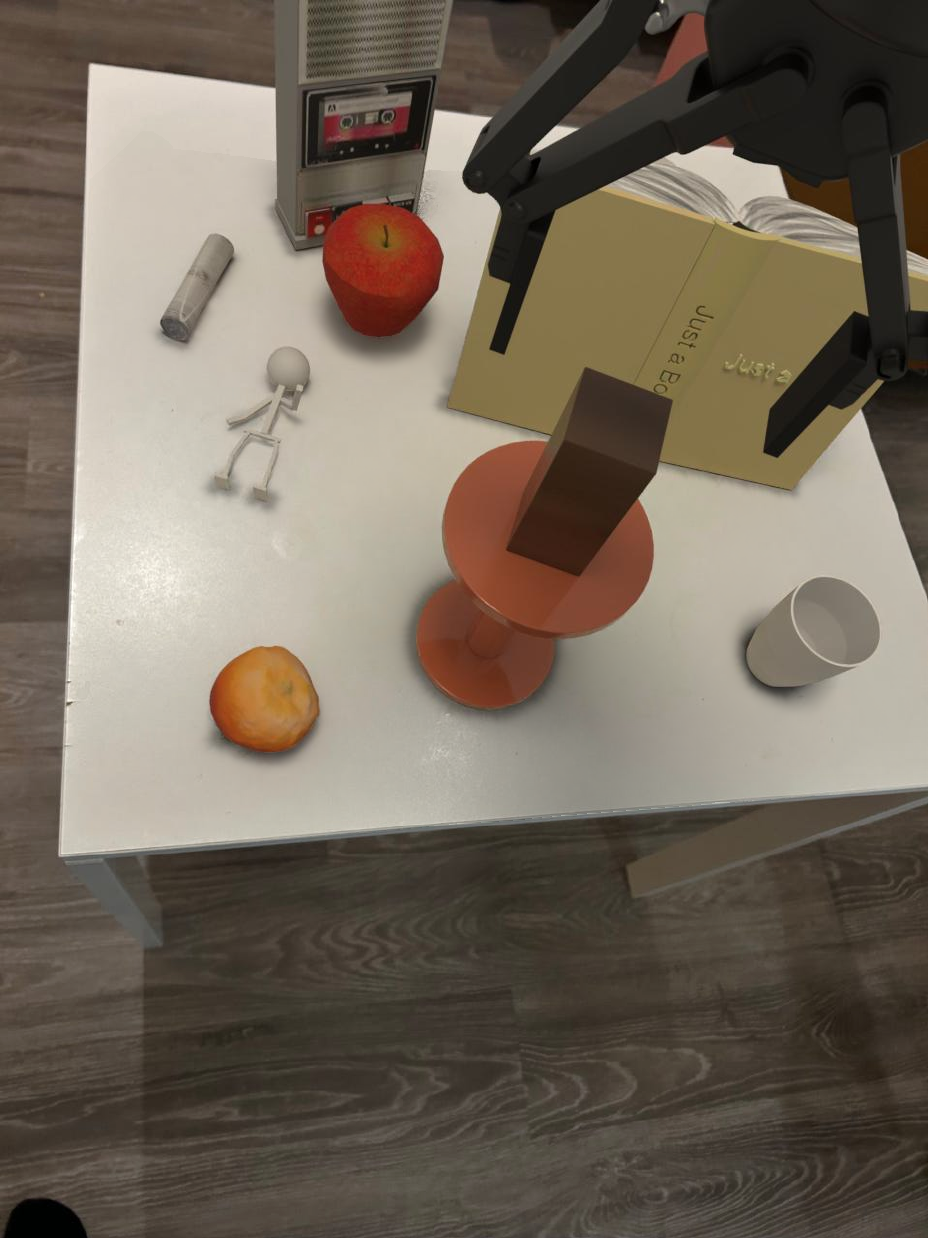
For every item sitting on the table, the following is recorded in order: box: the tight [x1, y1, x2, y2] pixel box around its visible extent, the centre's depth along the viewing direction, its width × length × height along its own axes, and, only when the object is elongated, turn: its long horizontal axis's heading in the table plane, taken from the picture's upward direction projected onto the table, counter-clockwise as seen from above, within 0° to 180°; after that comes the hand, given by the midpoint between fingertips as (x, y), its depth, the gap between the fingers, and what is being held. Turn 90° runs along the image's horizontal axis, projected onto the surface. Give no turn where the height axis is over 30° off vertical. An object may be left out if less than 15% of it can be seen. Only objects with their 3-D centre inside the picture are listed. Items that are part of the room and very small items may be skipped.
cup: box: [745, 574, 883, 688], centre depth 71 cm, size 8×8×10 cm
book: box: [446, 148, 928, 491], centre depth 73 cm, size 36×8×24 cm, turn 82°
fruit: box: [208, 645, 321, 754], centre depth 62 cm, size 8×8×8 cm
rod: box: [159, 232, 235, 341], centre depth 78 cm, size 12×3×3 cm, turn 165°
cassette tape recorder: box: [273, 0, 454, 250], centre depth 75 cm, size 14×6×25 cm, turn 115°
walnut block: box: [506, 367, 673, 576], centre depth 47 cm, size 5×5×12 cm
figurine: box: [213, 346, 311, 502], centre depth 72 cm, size 6×6×15 cm
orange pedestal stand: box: [415, 440, 655, 711], centre depth 62 cm, size 14×14×20 cm
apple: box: [321, 204, 445, 338], centre depth 76 cm, size 11×11×12 cm
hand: (639, 383), depth 38 cm, fingers open, 13 cm apart
